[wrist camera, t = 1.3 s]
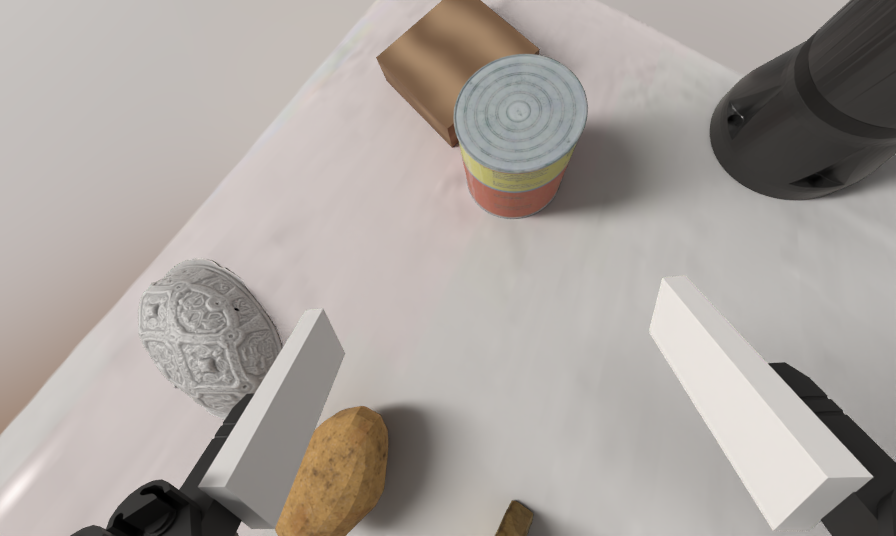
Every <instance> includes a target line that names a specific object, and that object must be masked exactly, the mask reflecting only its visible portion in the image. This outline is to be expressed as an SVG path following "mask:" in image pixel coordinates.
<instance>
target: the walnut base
mask: <svg viewBox="0 0 896 536" xmlns="http://www.w3.org/2000/svg"><path fill="white" fill-rule="evenodd" d="M516 54H535V55H539V48H537V47H536V46H535V45H534V44H533V43H531V42H530V41H529V40H528V39H526V38H525V37H524V36H523V35H522V34H520V33H519V32H518V31H517V30H516V29H514V28H513V27H512V26H511V25H510V24H508V23H507V22H506V21H505V20H504V19H502V18H501V17H500V16H499V15H498V14H496V13H495V12H494V11H493V10H492V9H490V8H489V7H488V6H487V5H486V4H484V3H483V2H482V1H481V0H442V1H441V2H440V3H439V4H438V5H436V6H435V7H434V8H433V9H432V10H431V11H429V12H428V13H427V14H426V15H425V16H424V17H423V18H421V19H420V20H419V21H418V22H417V23H416V24H414V25H413V26H412V27H411V28H410V29H409V30H408V31H406V32H405V33H404V34H403V35H402V36H401V37H399V38H398V39H397V40H396V41H395V42H394V43H393V44H391V45H390V46H389V47H388V48H387V49H386V50H384V51H383V52H382V53H381V54H380V55H379V56H377V57H376V58H377V60H378V62H379V65H380V67H381V69H382V71H383V73H384V76H385V78H386V80H387V81H388V82H389V84H390V85H391V86H392V87H393V88H394V89H395V90H396V91H397V92H398V93H399V94H400V95H401V96H402V97H403V98H404V99H405V100H406V101H407V102H408V103H409V104H410V105H411V106H412V107H413V108H414V109H415V110H416V111H417V112H418V113H419V114H420V115H421V116H422V117H423V118H424V119H425V120H426V121H427V122H428V123H429V124H430V125H431V126H432V127H433V128H434V129H435V130H436V131H437V132H438V133H439V134H440V136H441V137H442V138H443V139H444V140H445V141H446V142H447V143H448V144H449V145H450V146H451V147H453V146H455V145H456V144H457V143H458V142H459V140H458V138H457V135H456V132H455V127H454V107H455V103H456V100H457V97H458V95H459V93H460V91H461V89H462V87H463V86H464V84H465V83H466V82H467V80H468V79H469V78H470V77H471V76H472V75H473V74H474V73H475V72H476V71H478V70H479V69H480V68H482V67H483V66H485V65H486V64H488V63H490V62H492V61H494V60H497V59H499V58H502V57H506V56H510V55H516Z"/></svg>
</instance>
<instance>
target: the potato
mask: <svg viewBox="0 0 896 536" xmlns="http://www.w3.org/2000/svg"><path fill="white" fill-rule="evenodd" d="M387 456H388V430H387V428H386V426H385V423H384V421H383V419H382V417H381V415H380V414H378V413H376V412H374V411H372V410H371V409H369V408H367V407H365V406H360V407H354V408H348V409H344V410H342V411H340V412H338V413H336V414H335V415H333V416H332V417H330V418H329V419H327V420H326V421H324V422H323V423H322V424H321V425H320V426H319V427H318V428H317V429H316V430H315V431H314V432H313V435H312V437H311V440H310V442H309V445H308V447H307V450H306V452H305V455H304V457H303V460H302V462H301V465H300V467H299V470H298V472H297V475H296V477H295V480H294V482H293V485H292V487H291V490H290V492H289V495H288V497H287V500H286V502H285V505H284V507H283V510H282V512H281V515H280V518H279V520H278V523H277V525H276V528H275V531H276V533H277V534H278V536H346V535H347V534H348V533H349V532H350V531H351V530H352V529H353V528H354V527H355V526H356V525H357V524H358V523H359V522H360V521H361V520H362V519H363V518H364V517H365V516H366V515H367V514H368V513H369V512H370V511H371V510H372V509H373V508H374V507H375V506H376V504H377V502H378V500H379V498H380V496H381V494H382V492H383V490H384V484H385V475H386V466H387Z"/></svg>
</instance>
